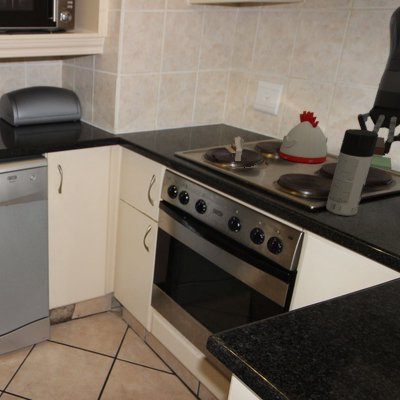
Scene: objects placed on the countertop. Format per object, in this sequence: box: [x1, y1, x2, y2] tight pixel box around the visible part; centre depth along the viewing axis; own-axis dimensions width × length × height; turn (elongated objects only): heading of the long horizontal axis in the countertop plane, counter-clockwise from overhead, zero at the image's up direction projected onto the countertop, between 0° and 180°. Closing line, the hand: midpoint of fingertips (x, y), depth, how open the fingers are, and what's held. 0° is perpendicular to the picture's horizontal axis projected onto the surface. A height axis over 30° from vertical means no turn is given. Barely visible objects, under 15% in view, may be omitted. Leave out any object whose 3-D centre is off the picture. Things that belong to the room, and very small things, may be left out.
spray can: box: [325, 128, 379, 217], centre depth 114 cm, size 7×7×20 cm
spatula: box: [370, 136, 392, 170], centre depth 126 cm, size 21×6×3 cm, turn 147°
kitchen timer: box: [278, 110, 328, 164], centre depth 156 cm, size 14×14×15 cm
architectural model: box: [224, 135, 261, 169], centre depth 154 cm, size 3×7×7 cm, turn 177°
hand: (376, 153), depth 128 cm, fingers closed on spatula, 2 cm apart
